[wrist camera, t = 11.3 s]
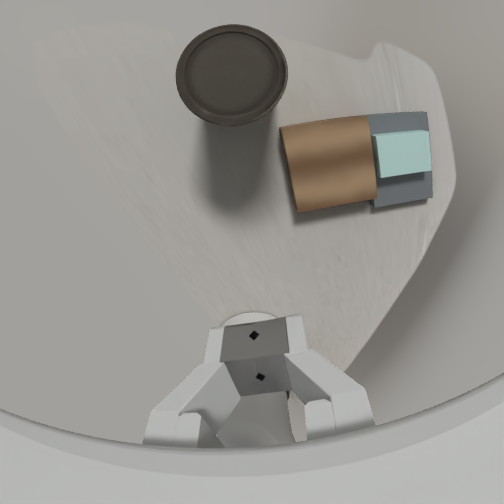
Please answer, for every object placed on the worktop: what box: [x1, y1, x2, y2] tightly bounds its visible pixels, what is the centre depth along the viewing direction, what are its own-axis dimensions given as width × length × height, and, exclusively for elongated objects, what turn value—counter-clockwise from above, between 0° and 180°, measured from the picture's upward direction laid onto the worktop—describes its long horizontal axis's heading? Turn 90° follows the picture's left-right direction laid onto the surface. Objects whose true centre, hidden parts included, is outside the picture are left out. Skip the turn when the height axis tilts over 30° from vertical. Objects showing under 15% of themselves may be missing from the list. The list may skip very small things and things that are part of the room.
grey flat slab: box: [361, 112, 433, 208], centre depth 38 cm, size 14×11×2 cm
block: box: [371, 130, 432, 178], centre depth 36 cm, size 6×9×2 cm, turn 103°
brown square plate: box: [279, 116, 377, 213], centre depth 38 cm, size 12×12×3 cm
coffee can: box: [176, 24, 288, 126], centre depth 28 cm, size 10×10×14 cm
